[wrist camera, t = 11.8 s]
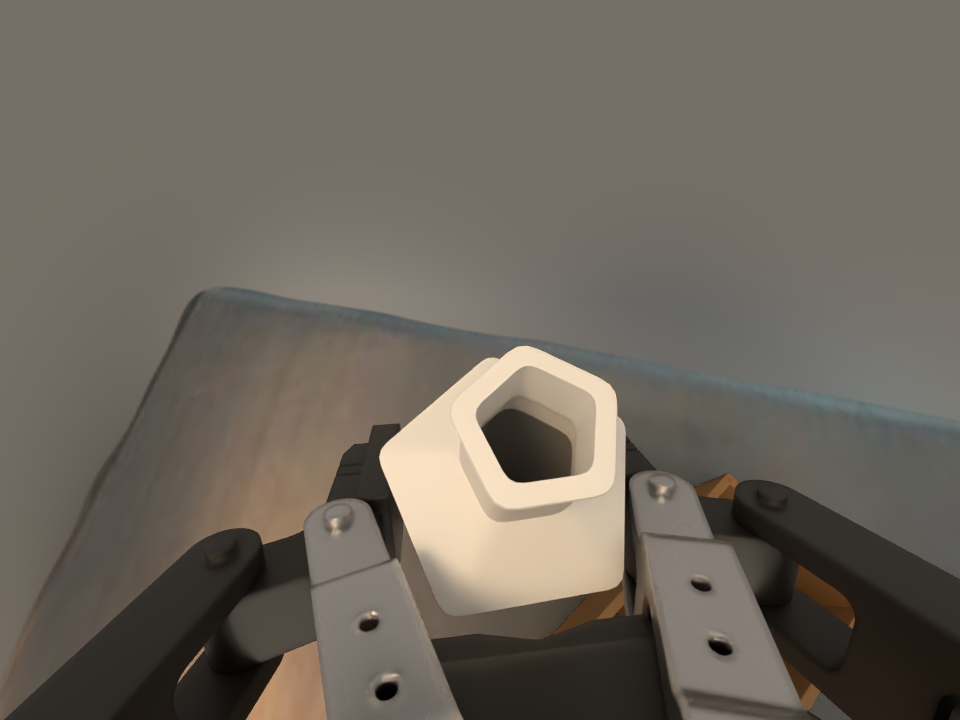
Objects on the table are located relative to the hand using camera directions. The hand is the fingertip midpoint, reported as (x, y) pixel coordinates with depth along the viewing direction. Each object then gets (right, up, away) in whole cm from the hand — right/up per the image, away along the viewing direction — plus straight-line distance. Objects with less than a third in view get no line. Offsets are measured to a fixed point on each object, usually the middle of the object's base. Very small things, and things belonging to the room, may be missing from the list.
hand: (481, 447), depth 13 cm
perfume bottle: (0, -5, +6) cm, 8 cm away
